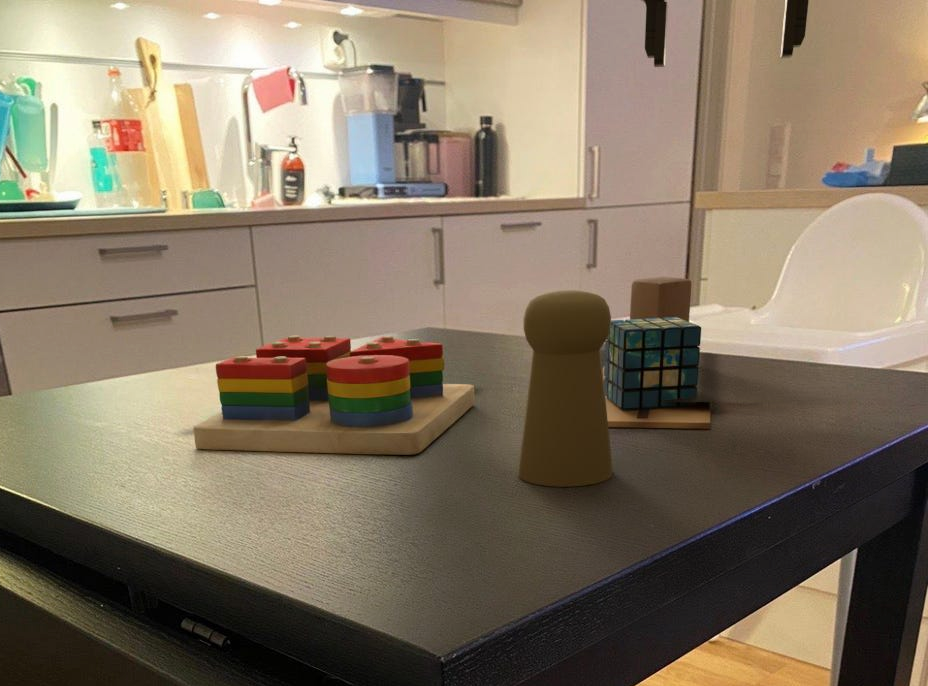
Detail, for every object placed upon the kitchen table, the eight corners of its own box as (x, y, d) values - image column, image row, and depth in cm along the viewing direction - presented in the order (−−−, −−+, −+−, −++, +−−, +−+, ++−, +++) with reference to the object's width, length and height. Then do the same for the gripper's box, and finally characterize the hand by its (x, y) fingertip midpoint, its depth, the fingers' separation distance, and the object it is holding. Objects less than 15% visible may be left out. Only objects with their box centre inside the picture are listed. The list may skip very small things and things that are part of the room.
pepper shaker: (498, 476, 62) (495, 294, 57) (555, 456, 66) (557, 285, 61) (575, 492, 58) (579, 299, 54) (631, 470, 62) (639, 288, 57)
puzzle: (602, 395, 81) (605, 320, 78) (673, 391, 81) (677, 316, 79) (621, 410, 75) (624, 330, 73) (696, 405, 76) (702, 326, 73)
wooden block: (687, 370, 90) (693, 278, 87) (654, 375, 88) (659, 282, 85) (658, 364, 93) (663, 276, 90) (625, 369, 91) (629, 279, 88)
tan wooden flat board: (709, 363, 96) (710, 357, 96) (710, 429, 71) (710, 421, 71) (607, 363, 98) (607, 357, 98) (574, 426, 74) (574, 418, 73)
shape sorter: (287, 401, 87) (280, 330, 84) (476, 404, 83) (474, 330, 80) (192, 449, 72) (180, 365, 69) (418, 456, 67) (413, 366, 65)
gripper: (855, -231, 63) (824, 60, 69) (631, -202, 66) (622, 73, 73) (873, -279, 56) (836, 48, 63) (623, -244, 59) (613, 63, 66)
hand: (721, 61), depth 68 cm, fingers open, 8 cm apart
